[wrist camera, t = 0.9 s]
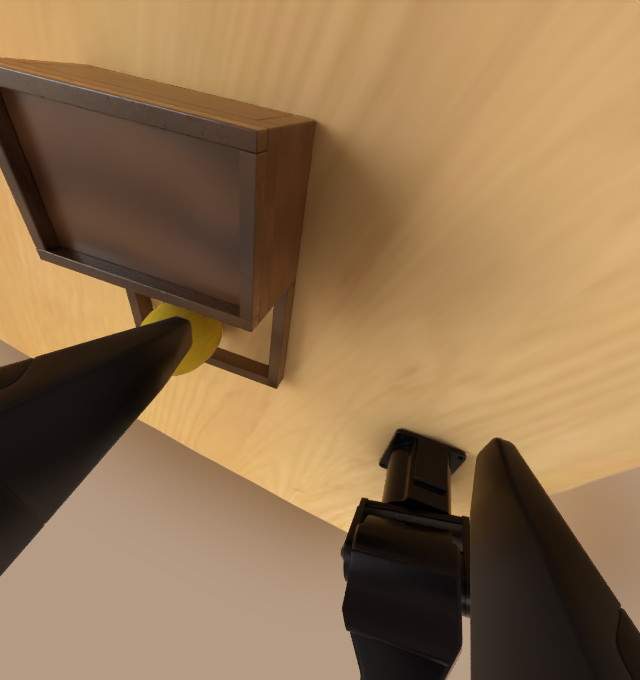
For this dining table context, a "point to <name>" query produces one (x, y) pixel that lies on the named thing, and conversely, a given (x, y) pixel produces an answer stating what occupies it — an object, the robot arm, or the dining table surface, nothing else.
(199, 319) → the lemon
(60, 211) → the step shelf
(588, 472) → the dining table surface
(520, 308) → the dining table surface
